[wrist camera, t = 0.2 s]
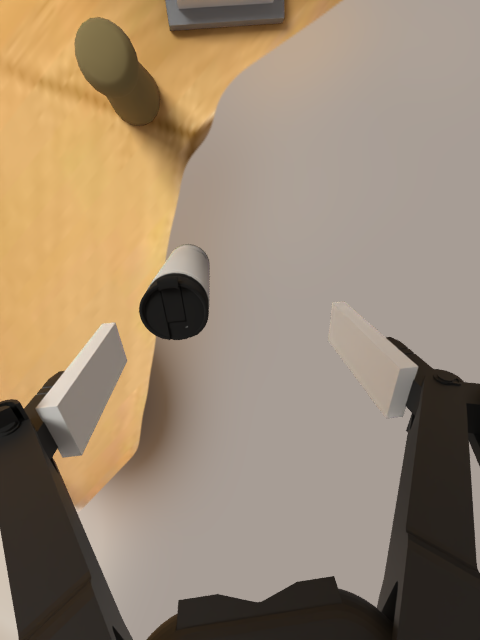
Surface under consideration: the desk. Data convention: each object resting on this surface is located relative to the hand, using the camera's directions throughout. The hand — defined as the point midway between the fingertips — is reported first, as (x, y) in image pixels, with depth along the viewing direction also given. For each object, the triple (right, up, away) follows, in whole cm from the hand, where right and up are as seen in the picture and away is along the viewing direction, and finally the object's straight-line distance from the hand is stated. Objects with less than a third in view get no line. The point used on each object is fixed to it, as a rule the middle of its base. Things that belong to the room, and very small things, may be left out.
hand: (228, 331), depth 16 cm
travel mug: (-7, +10, +25) cm, 28 cm away
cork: (-12, +28, +16) cm, 35 cm away
